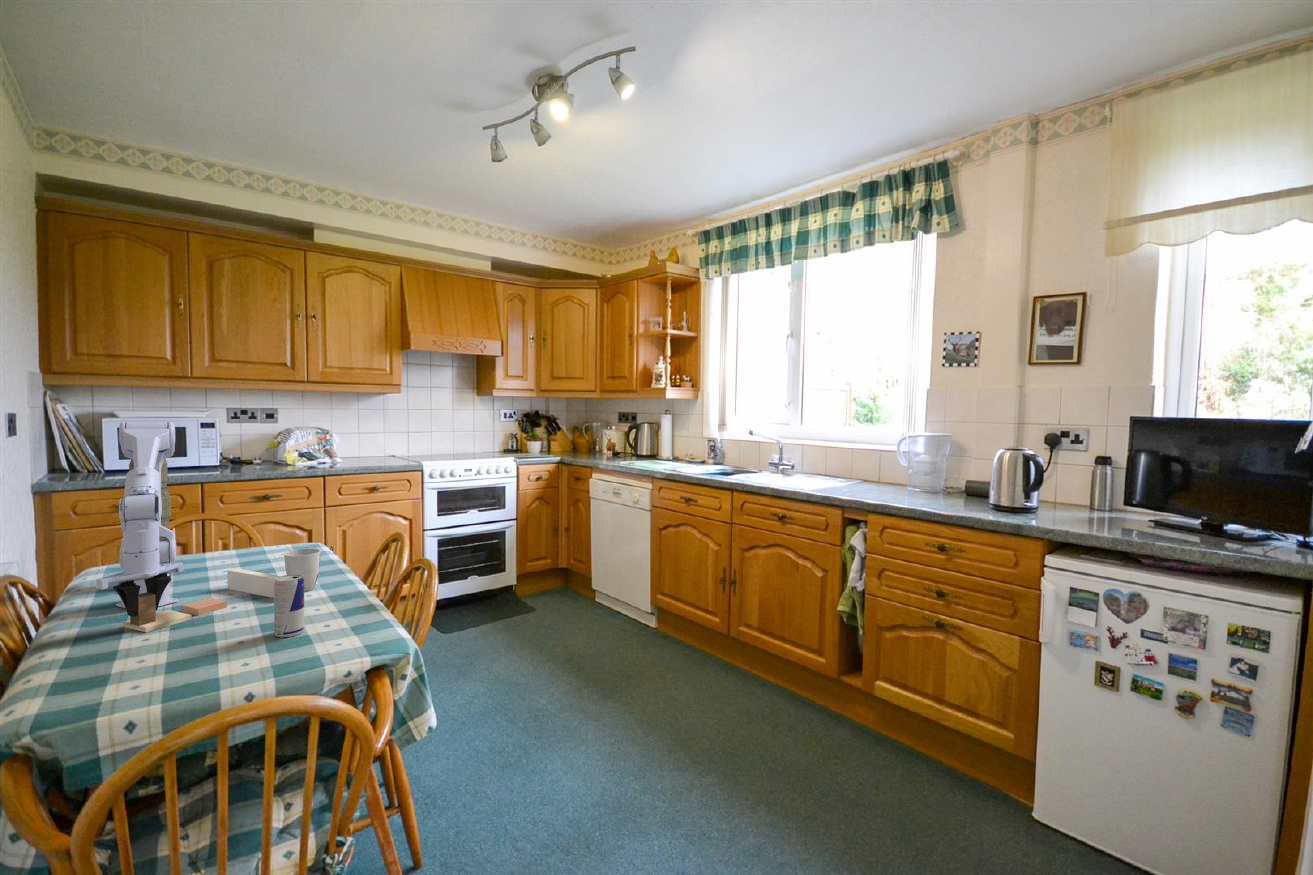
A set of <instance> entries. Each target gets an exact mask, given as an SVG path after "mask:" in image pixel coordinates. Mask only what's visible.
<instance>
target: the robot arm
mask: <svg viewBox="0 0 1313 875" xmlns="http://www.w3.org/2000/svg"><path fill="white" fill-rule="evenodd" d="M118 426H119V427H118V442H119V445H120V448H121V452H122V454H123V457H124V458H127V459H130V460H131V459H133V461H134V469H132V470H131V471H129V470H128V472H127V473H126V474H125V484H124V493H123V498H120V499H119V503H118V517H119V520H120V527H121V528H120V530H121V532H123V533H122V538H121V539H120V540H121V544H120V548H119V566H120V568H121V569H122V570H123V571H122V572H118V573H115V574H111V575H108V576H104V577H100V578H96V579H95V587H96V589H97V590H106V589H108V588H110V587H112V589H113V590H114V591H115V593H117V595H118V596H119V598H120V603H116V604H115V606H116V607H119V608H124V609H125V610H126V614H127V616H129V617H130V616H132V617H134V616H137V614H138V595H139V594H142V593H146V592H148V593H153V594H155V603H156V611H158V609H159V607H162V606H166V605H171V604H174V603H177V602H179V599H178V598H175V597H174V598H173V597H171V596H170V595H171V594H170V593H171V592H170V589H171V588H170V583H171V582H170V580H171V578H172V576H171V577H170V576H169V574H170V573H171V574H173V573H174V574H175V573H183V572H184V563H183V562H180V561H179V562H178V561H177V540H176V533H175V531H174V530H171V529H170V528H169V529H168V528H165V527H163V526H162V525H161V515H162V500H161V467H162V465H163V462H164V459H168V458H171V457H172V456H174V453H175V452H176V451H175V446H176V445H175V444H176V424H175V422H173V421H126V420H122V421H121V422H120V423H119V425H118ZM159 538H166V539H160V540H159Z"/></svg>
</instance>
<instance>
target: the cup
mask: <svg viewBox="0 0 1313 875" xmlns="http://www.w3.org/2000/svg"><path fill="white" fill-rule="evenodd" d="M283 555H284V567H285V575H292V574H299V575H303V578H304V593H305V592H306V593H307V592H310V591H312V590H314V589H315V588H316V583H317V581H318V578H319V572H320V567H321V566H320V563H321V549H320V548H313V547H312V548H310V547H309V548H299V549H292V550H288V551H286V552H285V553H284V554H283Z"/></svg>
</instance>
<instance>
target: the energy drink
mask: <svg viewBox="0 0 1313 875" xmlns="http://www.w3.org/2000/svg"><path fill="white" fill-rule="evenodd" d="M279 576H280V577H278V578H276V579H275V582H274V598H273V604H274V606H273V610H274V612H273V614H274V617H273V619H274V620H273V622H274V623H273V625H274V627H273V628H274V630H273V631H274V636H275V637H276V636H277V638H279V637H280V638H281V639H283V638H284V637H287V638H291V637H292V636H293V637H296V636H298V635H301V634H302V633H303V632H304V631H305V592H304V578H303V575H299V574H292V575H287V574H285V575H279ZM300 633H301V634H300Z"/></svg>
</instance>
